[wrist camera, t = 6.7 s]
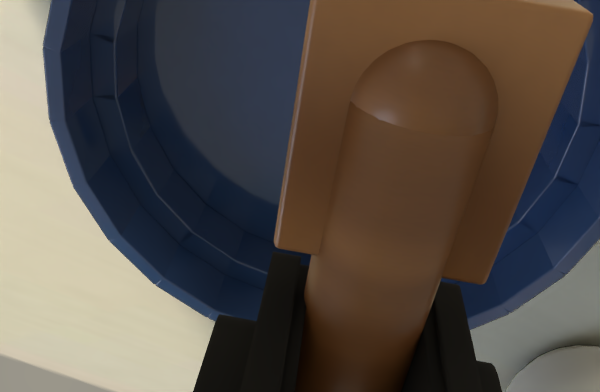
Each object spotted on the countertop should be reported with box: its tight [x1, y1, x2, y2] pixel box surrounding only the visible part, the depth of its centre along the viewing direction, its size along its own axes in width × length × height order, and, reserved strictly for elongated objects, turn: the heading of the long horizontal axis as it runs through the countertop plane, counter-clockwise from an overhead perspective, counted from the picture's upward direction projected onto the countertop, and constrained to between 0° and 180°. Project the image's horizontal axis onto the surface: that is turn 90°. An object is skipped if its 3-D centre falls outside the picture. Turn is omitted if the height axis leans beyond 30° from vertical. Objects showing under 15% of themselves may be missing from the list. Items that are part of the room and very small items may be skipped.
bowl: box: [43, 0, 600, 330], centre depth 21 cm, size 19×19×5 cm
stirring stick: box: [274, 0, 593, 392], centre depth 10 cm, size 14×3×2 cm, turn 172°
